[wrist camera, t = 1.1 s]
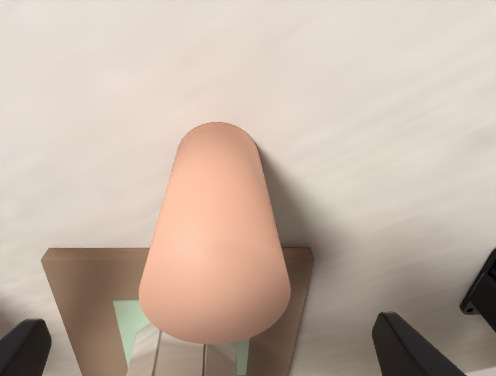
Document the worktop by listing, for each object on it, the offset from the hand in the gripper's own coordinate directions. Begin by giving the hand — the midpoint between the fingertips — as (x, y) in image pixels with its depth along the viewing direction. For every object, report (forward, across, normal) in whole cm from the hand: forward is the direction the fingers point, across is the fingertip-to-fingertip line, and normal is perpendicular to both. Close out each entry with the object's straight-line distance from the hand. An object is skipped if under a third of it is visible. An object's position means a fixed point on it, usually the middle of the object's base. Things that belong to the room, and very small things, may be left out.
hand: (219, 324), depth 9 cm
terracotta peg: (+10, 0, 0) cm, 10 cm away
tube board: (+10, +2, +14) cm, 17 cm away
